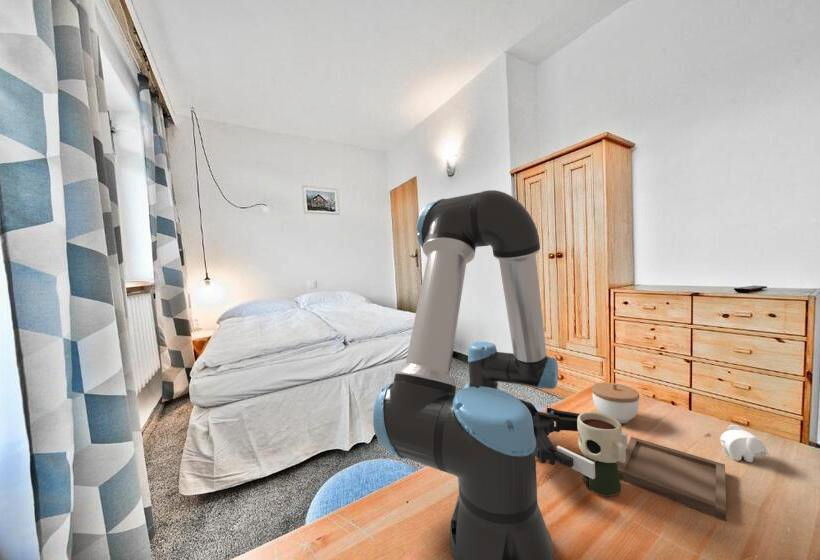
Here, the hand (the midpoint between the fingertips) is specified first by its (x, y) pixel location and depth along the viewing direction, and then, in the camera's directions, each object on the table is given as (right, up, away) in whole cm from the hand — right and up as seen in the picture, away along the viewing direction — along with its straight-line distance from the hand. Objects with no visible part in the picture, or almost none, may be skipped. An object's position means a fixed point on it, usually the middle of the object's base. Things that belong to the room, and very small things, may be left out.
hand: (611, 455), depth 56 cm
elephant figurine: (+32, -5, +7) cm, 33 cm away
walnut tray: (+14, -6, +3) cm, 15 cm away
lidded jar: (+19, -5, +26) cm, 32 cm away
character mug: (-1, -7, +2) cm, 7 cm away
